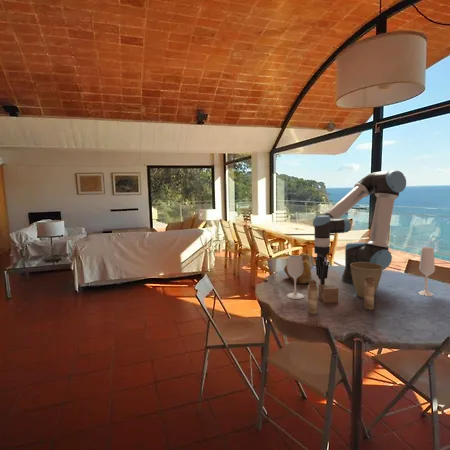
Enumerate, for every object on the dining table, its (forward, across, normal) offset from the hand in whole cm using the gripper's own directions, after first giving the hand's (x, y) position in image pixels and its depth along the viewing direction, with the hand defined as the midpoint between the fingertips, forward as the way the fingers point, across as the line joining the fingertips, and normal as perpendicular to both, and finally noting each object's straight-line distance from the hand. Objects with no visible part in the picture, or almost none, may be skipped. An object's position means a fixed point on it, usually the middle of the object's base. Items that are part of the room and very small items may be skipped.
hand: (321, 290), depth 155 cm
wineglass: (+3, -1, -14) cm, 14 cm away
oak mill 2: (+3, +20, +14) cm, 24 cm away
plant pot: (+3, +5, +21) cm, 22 cm away
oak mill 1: (+3, +20, -13) cm, 24 cm away
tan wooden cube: (+3, +7, 0) cm, 8 cm away
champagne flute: (+3, +7, +52) cm, 53 cm away
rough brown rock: (+3, -30, -2) cm, 30 cm away
